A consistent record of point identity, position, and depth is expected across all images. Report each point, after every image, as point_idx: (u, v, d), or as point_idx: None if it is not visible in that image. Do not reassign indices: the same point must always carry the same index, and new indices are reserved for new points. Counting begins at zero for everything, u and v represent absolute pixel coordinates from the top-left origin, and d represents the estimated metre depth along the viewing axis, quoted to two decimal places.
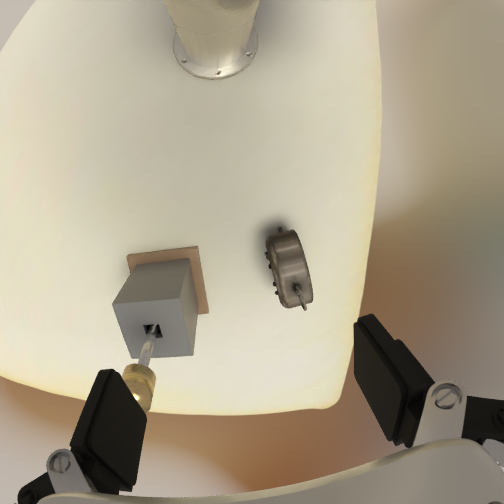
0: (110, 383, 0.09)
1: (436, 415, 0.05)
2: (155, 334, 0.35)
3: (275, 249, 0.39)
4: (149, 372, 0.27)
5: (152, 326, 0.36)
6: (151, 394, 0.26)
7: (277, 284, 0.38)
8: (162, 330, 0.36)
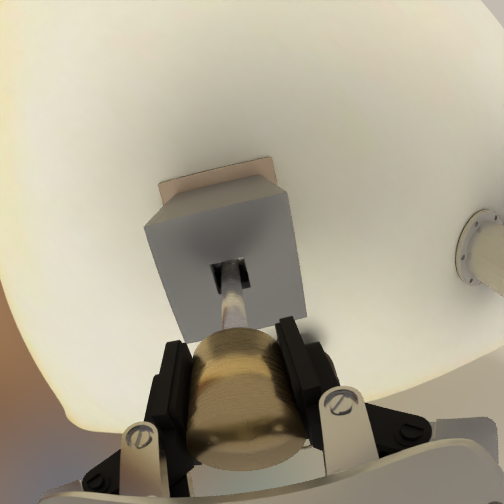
0: (181, 353, 0.10)
1: (337, 423, 0.06)
2: None
3: None
4: None
5: (239, 272, 0.19)
6: None
7: None
8: None
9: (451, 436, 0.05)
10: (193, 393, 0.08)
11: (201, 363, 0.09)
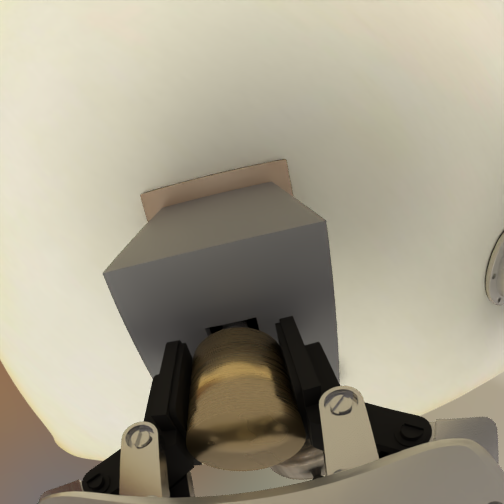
0: (181, 353, 0.10)
1: (337, 423, 0.06)
2: None
3: None
4: None
5: None
6: None
7: (316, 451, 0.21)
8: None
9: (451, 436, 0.05)
10: (193, 393, 0.08)
11: (201, 363, 0.09)
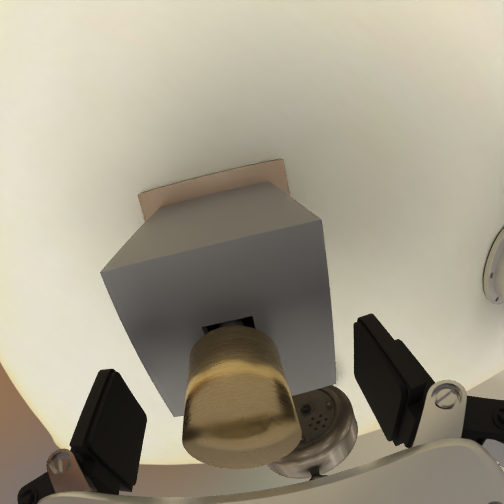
0: (110, 383, 0.09)
1: (436, 415, 0.05)
2: None
3: (351, 423, 0.23)
4: None
5: None
6: None
7: (314, 450, 0.21)
8: None
9: None
10: (190, 390, 0.08)
11: (196, 361, 0.09)
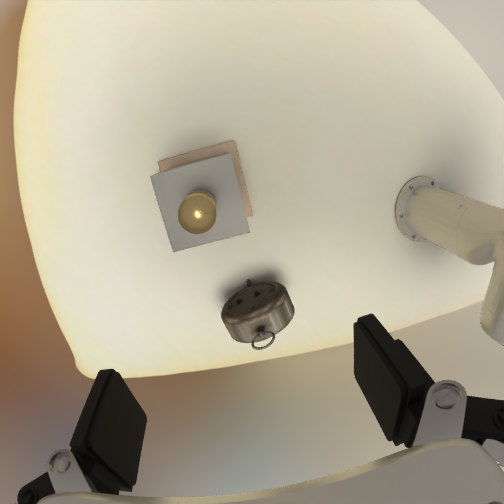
0: (110, 383, 0.09)
1: (436, 415, 0.05)
2: None
3: (285, 299, 0.43)
4: None
5: None
6: None
7: (258, 311, 0.41)
8: None
9: None
10: None
11: (185, 197, 0.29)
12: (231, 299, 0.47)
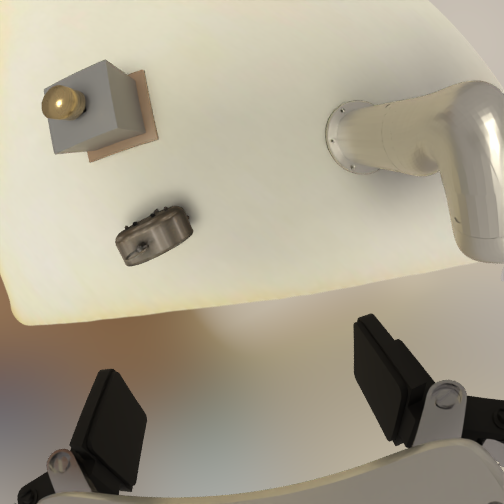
0: (110, 383, 0.09)
1: (436, 415, 0.05)
2: None
3: (174, 216, 0.37)
4: (79, 113, 0.25)
5: None
6: (62, 118, 0.23)
7: (141, 226, 0.35)
8: (79, 116, 0.27)
9: None
10: None
11: None
12: (132, 225, 0.42)
